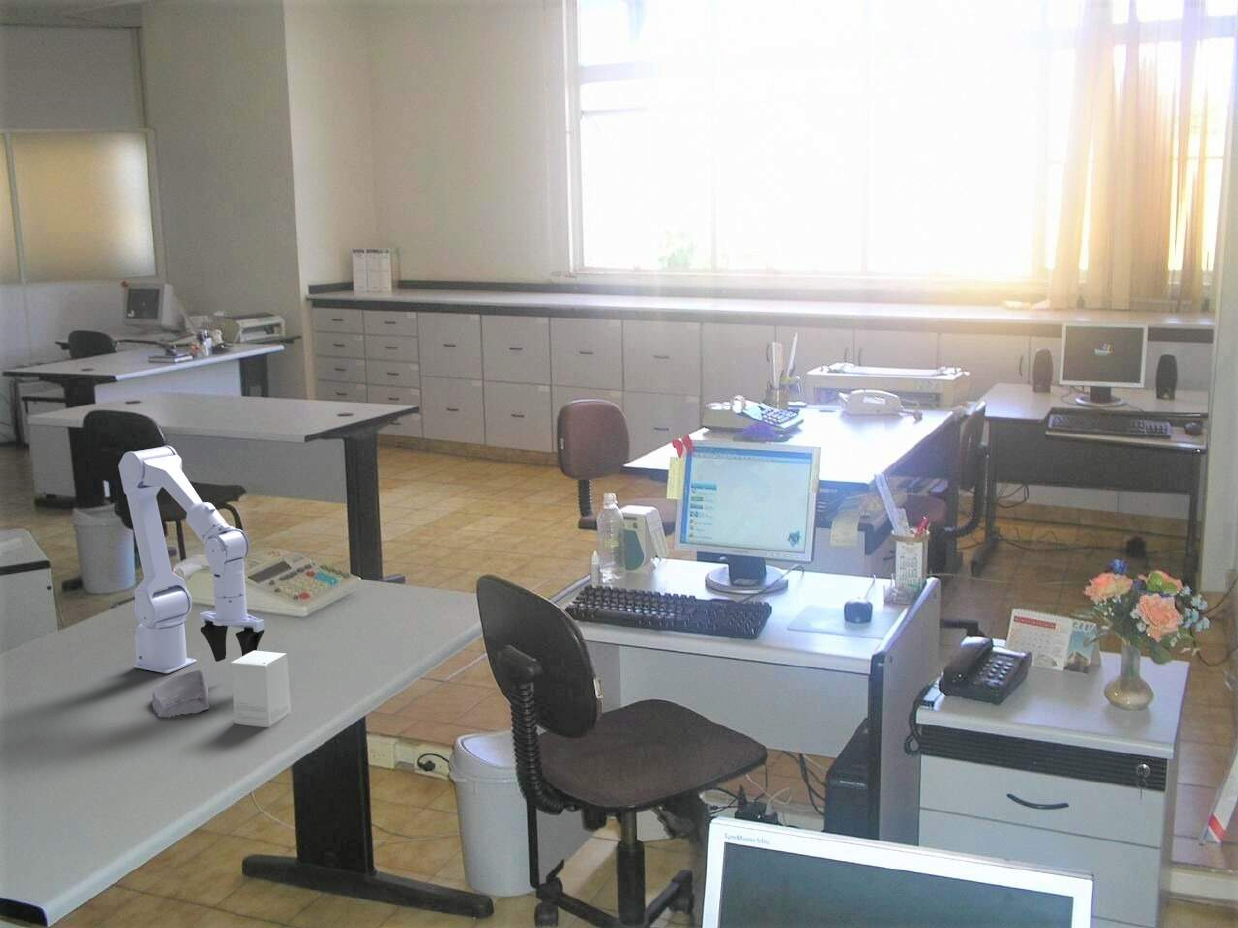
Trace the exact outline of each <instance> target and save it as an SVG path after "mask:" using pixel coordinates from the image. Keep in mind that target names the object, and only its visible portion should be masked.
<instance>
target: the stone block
mask: <svg viewBox="0 0 1238 928" xmlns="http://www.w3.org/2000/svg"><path fill="white" fill-rule="evenodd" d="M207 684H208V683H207V681H206V678H205V675H204V673H203V671H202V670H201V669H197V670H195V671H191V672H186V673H183V674H179V675H175V676H172V677H170V678H168V679H165V680H163V681H162V682H160V683H158V684H157V685H156V686H155V687H154V689H153V690H152V694H151V697H152V703H151V705H152V707H153V710H154V709H155V710H154V712H155V711H156V712H157V713H158V716H160V717H161V718H165V717H168V718H172V717H171V716H173V717H176V716H175V715H178V716H181V715H180V714H185V715H189V713H193V714H198V713H201V712H203V711H205V710H209V709H210V704H209V689H208V685H207ZM156 712H155V713H156ZM158 716H157V717H158ZM160 717H159V718H160Z"/></svg>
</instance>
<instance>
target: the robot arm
mask: <svg viewBox="0 0 1238 928" xmlns="http://www.w3.org/2000/svg"><path fill="white" fill-rule="evenodd" d="M117 467H118V471H119V475H120V479H121V485H122V488H123V489H122V490H123V493H124V494H125V495H126V500H127V504H128V508H129V513H130V518H131V522H132V523H131V524H132V525H133V526H132V527H133V531H134V536H135V541H136V546H137V550H138V554H139V560H140V563H141V564H140V565H141V568H142V573H143V579H142V581H140V583H139V584H138V585H137V586H136V588H135V589H134V591H133V593H134V615H135V617H136V618H137V620H138V622H140V623H139V625H138V626H137V627H136V630H135V634H134V642H135V653H136V655H135V656H136V663H134V664H133V667H134V668H136V669H142V670H148V671H152V672H158V673H163V674H170V673H172V672H173V673H174V672H175V671H177V670H180V669H183V668H186V667H188V666H191V665H193V664H195V663H197V662H198V661H197V659H195V658H189V657H187V642H186V631H185V621H187V620H188V615H189V614H190V613H191V611H192V608H193V598H192V595H191V594H190V592H189V590H188V588H187V586H186V582H185V579H184V578H183V577H181V576H179V575H177V574H175V573H174V572H173V570H172V565H171V561H170V555H169V552H168V546H167V542H166V537H165V534H164V533H165V532H164V527H163V524H162V519H161V514H160V509H159V505H158V500H157V495H158V493H159V492H160V491H161V489H162V488H163V489H164V490H166V492H167V493H168V494H169V495H170V496H171V497H172V498H173V499H174V501H176V502H177V503H178V504H179V506H180V507H181V508H182V509H183V510H184V511H185V512H186V517H185V521H186V523H187V524H188V525H189V527H190V528H191V530H192V531H193V532H194V533H195V534H196V536H197V537H198V539H199V540H200V542H202V543H203V545H204V548H203V553H204V556H205V558H206V560H207V562H208V569H209V571H210V573H211V574H212V580H213V581H212V583H213V597H214V610H215V611H211V610H210V611H209V610H206V611H203V612H200V613H199V621H200V624H204V626H202V627H200V633H201V634H202V635H203V637H204V638H205V639H206V642H207V643H208V644H209V648H210V649H211V652H212V655H213V658H214V661H215V662H216V663H218V662H221V661H224V660H226V659H227V635H228V628H229V627H232V628H238V629H243V630H241V631H238V632H236V633H235V637H236V639H237V642H238V644H239V647H240V651H241V657H242V656H244V655H246V654H248V653H250V652H252V651H254V650H255V651H258V647H259V644H260V641H261V639H262V637H263V636H264V633H265V630H266V629H265V619H262V618H258V617H256V616H253V615H251V614H249V613H248V610H247V609H248V607H247V596H246V595H247V593H246V591H247V590H246V578H245V563H244V561H245V560H244V559H245V558H246V557H247V556H248V555H249V552H250V543H249V538H248V537H247V535H246V534H245V531H244V530H241V529H240V528H235V527H234V526H233V525H229V523H228V522H227V521H226V519H225V518H224V517H223V516H222V515H221V513H220V512H219V511H218V510H217V509H216V508H217V507H215V506H214V505H213V504H212V503H211V502H205V501H202V499H201V497H200V496H199V494H198V493H197V491H196V490H195V488H194V487H193V486H192V484H191V483H190V481H189V479H188V478H187V476H186V474H185V473H184V472H183V460H182V458H181V457H180V456H179V454H178V453H177V451H176V449H174V448H173V447H172V446H171V445H163V446H161V447H155V448H149V449H148V448H147V449H144V450H142V449H141V450H137V451H127V452H125V453H124V454H123V456H122V458H121V459H120V461H119V463H118V466H117ZM162 589H164V590H162ZM159 590H160V591H159Z"/></svg>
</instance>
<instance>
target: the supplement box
mask: <svg viewBox="0 0 1238 928" xmlns="http://www.w3.org/2000/svg"><path fill="white" fill-rule="evenodd" d="M288 661H289V660H288V654H287V653H283V652H272V651H262V650H257V651H255V650H254V651H252V652H250V653H248V654H246V655H244V656H242V655H241V656H240V657H239V658H237V659H235V660H233V661H231V662H230V673H231V685H232V686H231V688H232V701H233V712H234V723H235V724H238V725H244V726H253V727H261V728H262V727H263V728H271V727H272V726H274V725H275V724H276V723H278V722H279V721H281V720H283V718H284V717H286V716H287V715H289V714H290V713H291V712H292V705H291V704H292V703H291V690H290V677H289V675H290V674H289V663H288Z"/></svg>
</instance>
